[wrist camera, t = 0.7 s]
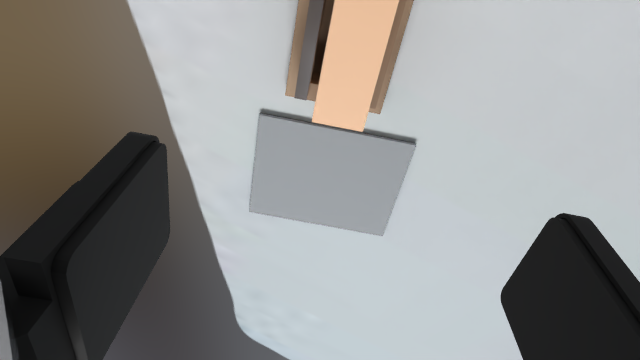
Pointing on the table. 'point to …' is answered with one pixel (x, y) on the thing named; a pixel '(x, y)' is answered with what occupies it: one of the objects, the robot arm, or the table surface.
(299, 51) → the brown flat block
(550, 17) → the table surface
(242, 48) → the table surface
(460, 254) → the table surface
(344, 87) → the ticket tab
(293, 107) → the table surface
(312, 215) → the rubber mat
